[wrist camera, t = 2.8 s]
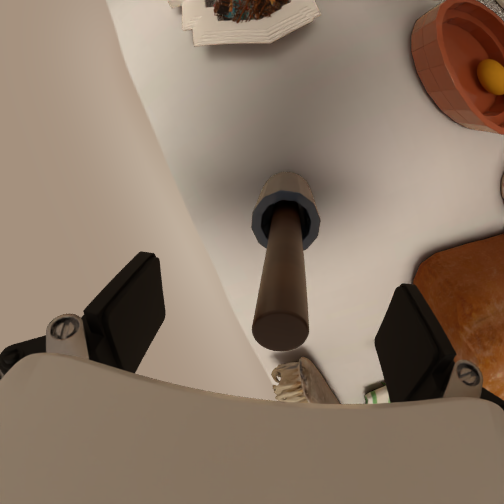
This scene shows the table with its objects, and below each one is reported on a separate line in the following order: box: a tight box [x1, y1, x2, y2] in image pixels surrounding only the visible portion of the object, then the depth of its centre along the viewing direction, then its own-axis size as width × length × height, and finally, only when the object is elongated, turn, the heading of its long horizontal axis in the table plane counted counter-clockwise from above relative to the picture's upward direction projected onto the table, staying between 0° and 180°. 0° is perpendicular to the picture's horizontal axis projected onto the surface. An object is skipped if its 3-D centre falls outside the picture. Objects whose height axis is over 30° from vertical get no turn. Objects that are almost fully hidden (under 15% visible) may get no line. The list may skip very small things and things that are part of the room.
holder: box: [251, 172, 321, 250], centre depth 20 cm, size 4×4×7 cm
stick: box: [252, 200, 309, 351], centre depth 15 cm, size 2×2×16 cm
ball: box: [477, 59, 504, 95], centre depth 12 cm, size 4×4×4 cm
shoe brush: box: [271, 357, 339, 404], centre depth 31 cm, size 24×8×5 cm
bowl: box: [411, 0, 504, 134], centre depth 12 cm, size 12×12×6 cm
